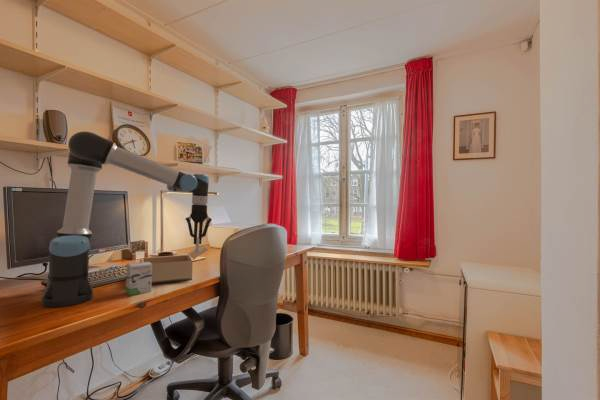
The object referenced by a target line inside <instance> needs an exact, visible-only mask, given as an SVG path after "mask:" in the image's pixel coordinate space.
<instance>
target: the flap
mask: <svg viewBox="0 0 600 400" xmlns="http://www.w3.org/2000/svg"><path fill="white" fill-rule="evenodd" d="M207 251H208V248H207V247H206V246H204V245H203V244H200V245H199V251H196V250H195V248H194V249H193V250H191V251H190V252H189V253H188V255H189V257H191V259H193V260H195V259H196V258H198V257H200V256H201V255H202V254H204V253H205V252H207ZM193 260H192V261H193Z"/></svg>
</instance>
